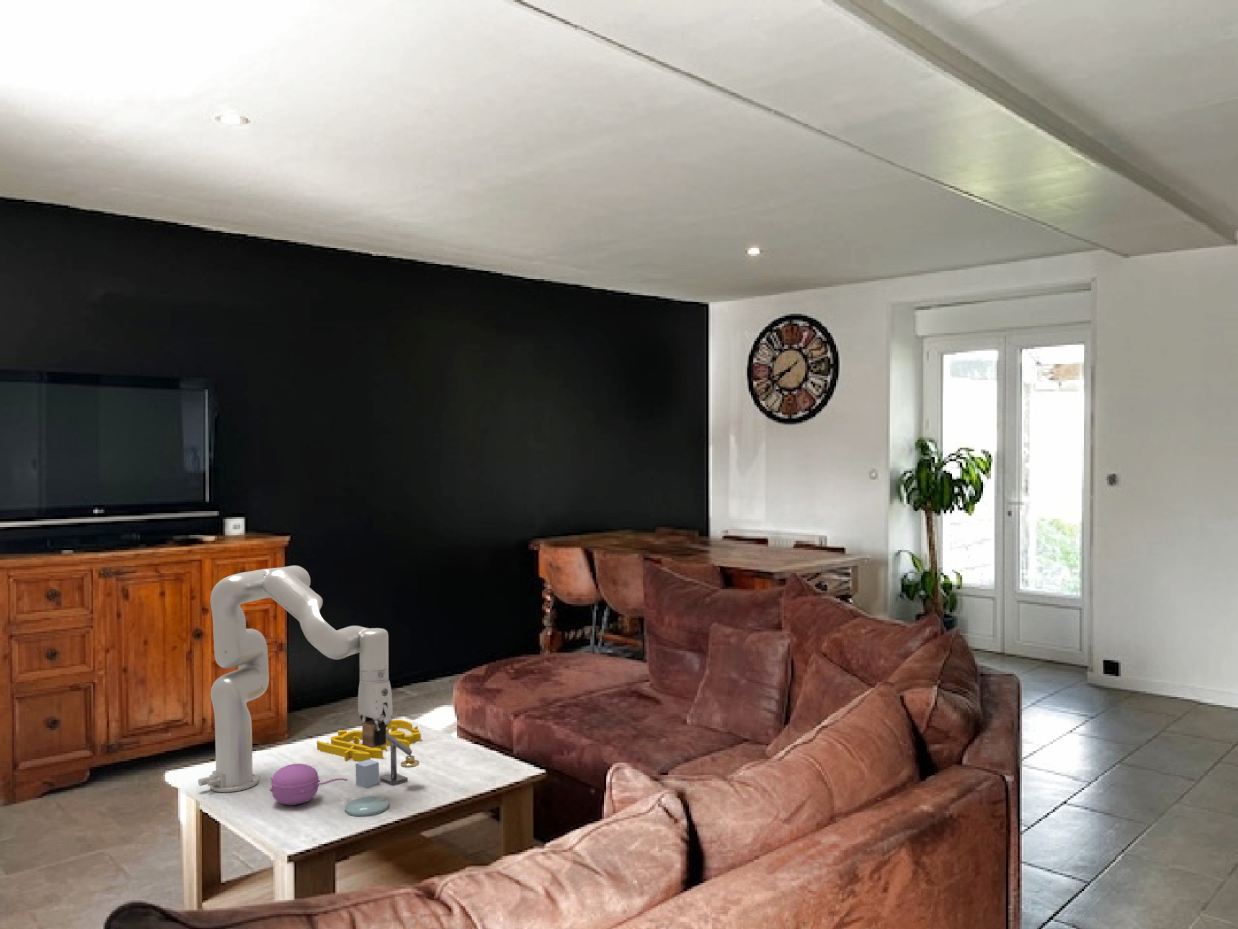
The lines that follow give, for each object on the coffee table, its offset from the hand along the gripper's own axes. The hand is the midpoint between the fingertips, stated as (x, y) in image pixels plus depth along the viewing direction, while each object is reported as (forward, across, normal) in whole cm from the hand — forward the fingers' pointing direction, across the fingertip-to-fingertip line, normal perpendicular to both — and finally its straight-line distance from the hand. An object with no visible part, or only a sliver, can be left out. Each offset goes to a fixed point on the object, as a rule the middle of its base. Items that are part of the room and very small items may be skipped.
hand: (374, 741), depth 252 cm
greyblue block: (+15, +10, -4) cm, 18 cm away
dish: (+15, -6, +7) cm, 17 cm away
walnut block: (+1, 0, 0) cm, 1 cm away
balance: (+15, +6, -10) cm, 19 cm away
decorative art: (+16, +40, -28) cm, 52 cm away
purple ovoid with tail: (+15, +10, +15) cm, 23 cm away
